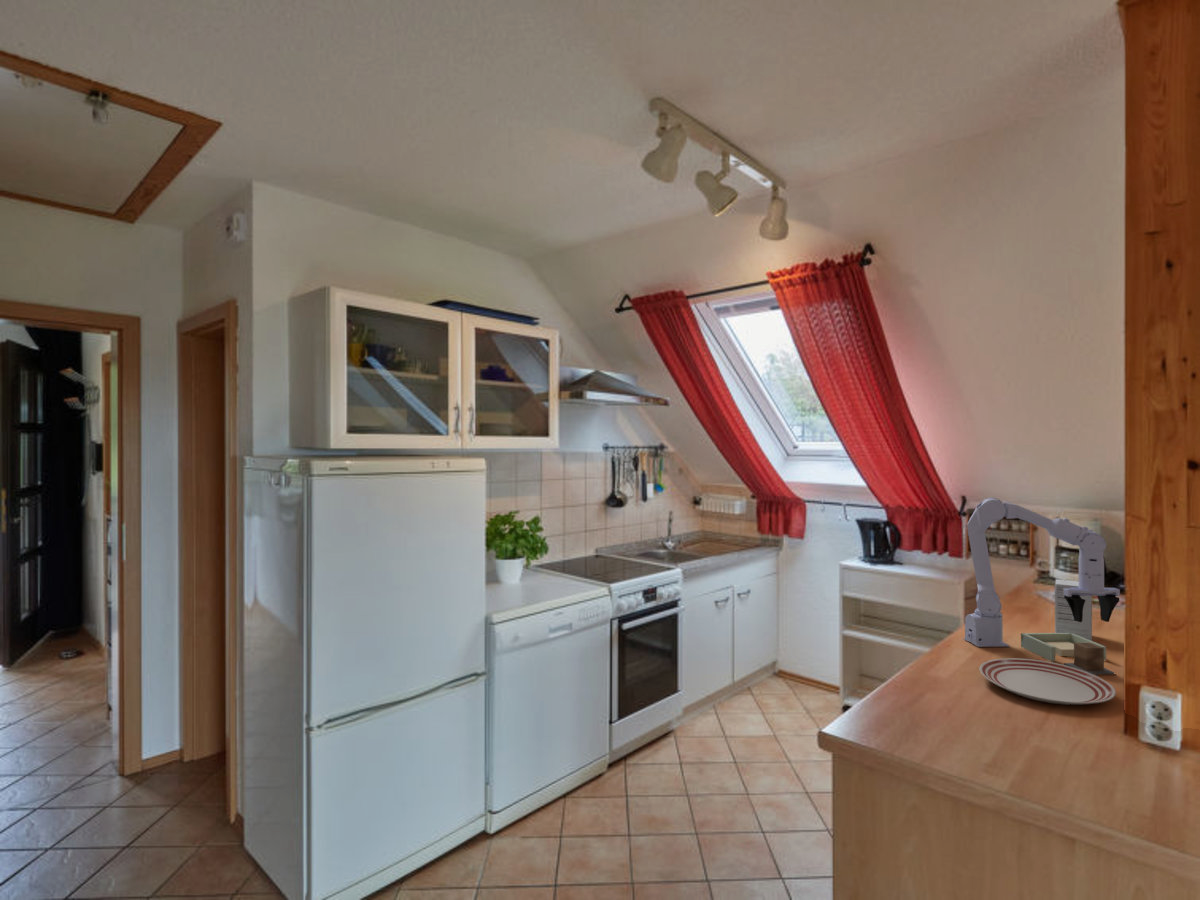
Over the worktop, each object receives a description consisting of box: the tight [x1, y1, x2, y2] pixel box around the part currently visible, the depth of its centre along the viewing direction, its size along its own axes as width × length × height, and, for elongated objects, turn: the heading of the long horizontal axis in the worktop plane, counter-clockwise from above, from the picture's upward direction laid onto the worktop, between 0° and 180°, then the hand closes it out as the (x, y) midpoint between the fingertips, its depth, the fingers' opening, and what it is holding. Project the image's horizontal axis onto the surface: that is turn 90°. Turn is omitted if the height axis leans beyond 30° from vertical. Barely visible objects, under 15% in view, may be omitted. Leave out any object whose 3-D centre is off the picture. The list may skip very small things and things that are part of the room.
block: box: [1073, 643, 1105, 671], centre depth 168 cm, size 4×4×6 cm
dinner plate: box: [979, 657, 1117, 705], centre depth 155 cm, size 28×27×3 cm
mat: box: [1063, 662, 1115, 676], centre depth 168 cm, size 8×8×1 cm
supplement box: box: [1054, 578, 1093, 641], centre depth 197 cm, size 10×9×17 cm
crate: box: [1020, 632, 1107, 663], centre depth 181 cm, size 15×13×4 cm
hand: (1091, 621), depth 179 cm, fingers open, 7 cm apart
